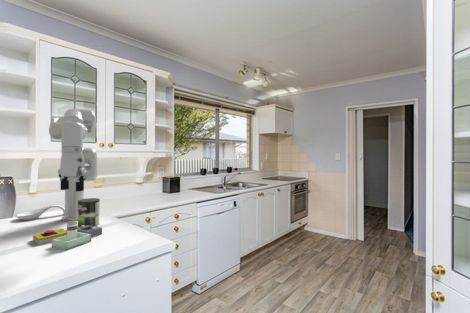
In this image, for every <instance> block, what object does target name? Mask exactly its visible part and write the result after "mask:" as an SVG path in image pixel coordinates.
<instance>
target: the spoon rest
mask: <svg viewBox="0 0 470 313" xmlns="http://www.w3.org/2000/svg"><path fill="white" fill-rule="evenodd" d="M51 208H59V209H60V210H61V211H62V214H63V215H64V216H65V206H63V205H59V204H49V205H47V206H44V207H41V208H37V209H34V210H29V211H24V212H21V213H18V214H17V215H16V218H17V219H19V220H21V221H32V220H36V219H37V220H38V218H39V217H41V216H43V214H44V213H45V212H46V211H48V210H50V209H51Z"/></svg>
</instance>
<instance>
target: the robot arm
mask: <svg viewBox="0 0 470 313" xmlns="http://www.w3.org/2000/svg"><path fill="white" fill-rule="evenodd" d="M96 126H97V117H96V114H95V112H94V111H93V110H90V109H82V108H81V109H80V108H70V109H67V110H66V111H65V112H64V115H63V116H57V117H55V118H53V119H52V120H51V121H50V123H49V126H48V134H49V136H50V137H51V139H53V140H61V141H60V143H61V144H60V145H61V148H60V149H61V151H60V152H61V156H60V157H61V158H60V165H59V169H58V170H57V173H58V177H59V181H60V190H61V191H64V208H65V215H64V216H62V217H61V220H62V221H64V222H65V221H66V222H68V221H78V200H81V199H85V189H84V188H85V183H84V182H92V181H95V180H97V178H98V153H97V150H96V149H94V148H92V147H84V143H83V140H85V138H87V137H88V135H91V134H93V133H95V131H96Z"/></svg>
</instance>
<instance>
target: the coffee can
mask: <svg viewBox="0 0 470 313" xmlns="http://www.w3.org/2000/svg"><path fill="white" fill-rule="evenodd" d="M100 201H101V199H100V198H97V197H96V198H94V197H91V198H90V197H89V198H84V199H81V200H78V220H77V228H80V227H81V226H82V225H85V226H87V225H90V226H96V227H99V226H100ZM98 225H99V226H98Z"/></svg>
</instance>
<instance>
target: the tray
mask: <svg viewBox="0 0 470 313" xmlns="http://www.w3.org/2000/svg"><path fill="white" fill-rule="evenodd" d="M90 242H92V237H91V234H86V233H81V232H77V239H74V240H71V241H68V242H67V235H66V236H62V237H59V238H56V239H52V242H51V248H56V249H60V250H64V251H67V250H71V249H73V248H76V247H78V246H82V245H85V244H87V243H90Z"/></svg>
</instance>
